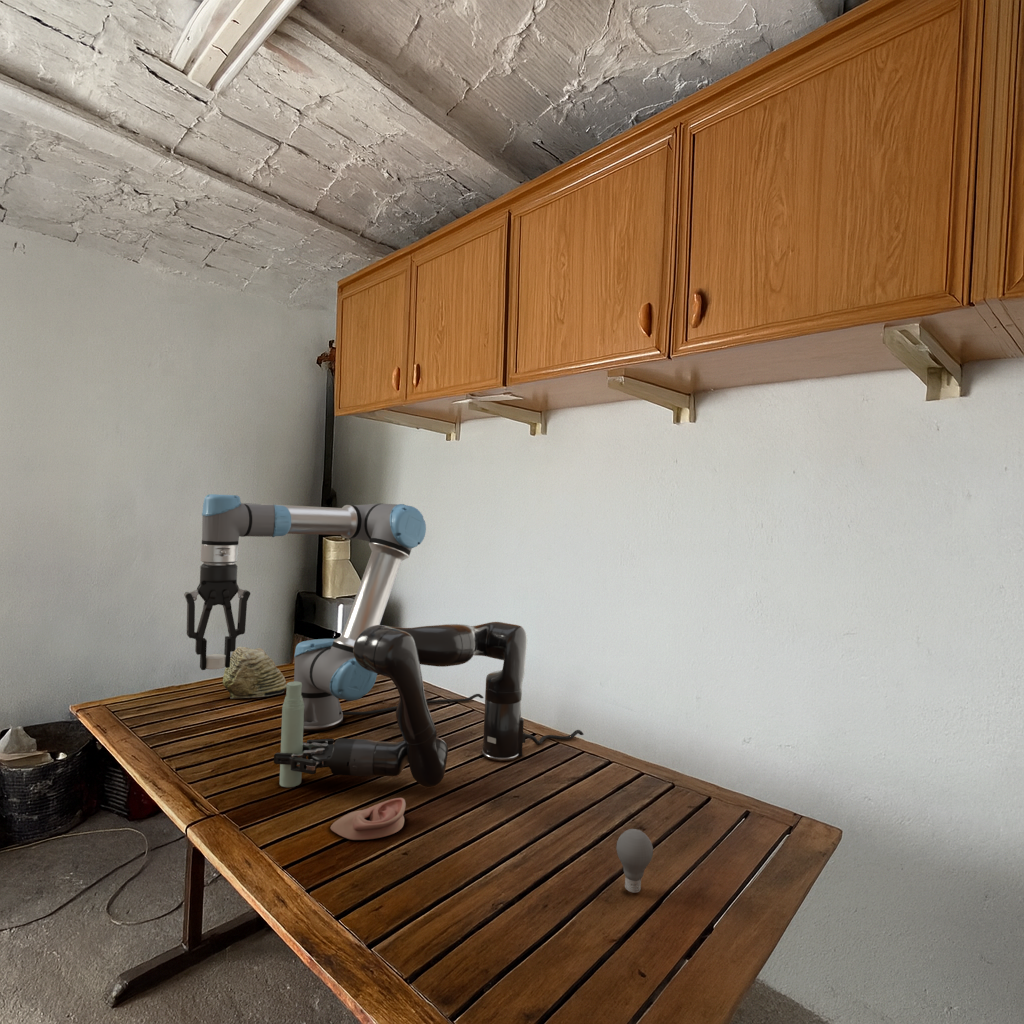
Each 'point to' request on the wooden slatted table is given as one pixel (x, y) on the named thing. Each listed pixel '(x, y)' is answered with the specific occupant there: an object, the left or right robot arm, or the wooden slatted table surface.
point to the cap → (215, 661)
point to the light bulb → (634, 857)
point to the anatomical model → (372, 821)
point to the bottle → (292, 732)
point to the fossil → (252, 674)
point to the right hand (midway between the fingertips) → (279, 753)
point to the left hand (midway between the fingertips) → (214, 667)
